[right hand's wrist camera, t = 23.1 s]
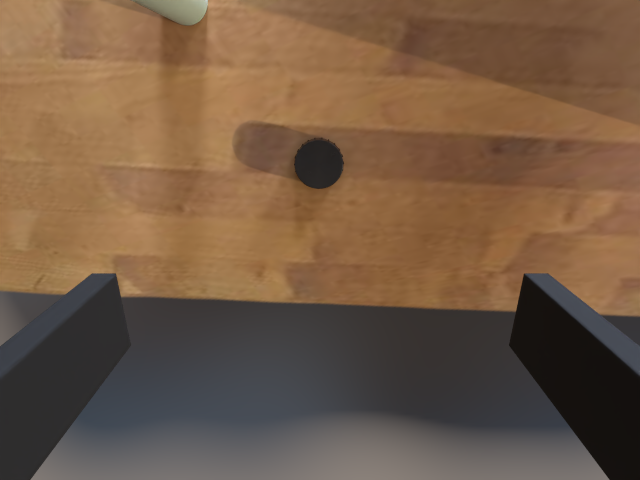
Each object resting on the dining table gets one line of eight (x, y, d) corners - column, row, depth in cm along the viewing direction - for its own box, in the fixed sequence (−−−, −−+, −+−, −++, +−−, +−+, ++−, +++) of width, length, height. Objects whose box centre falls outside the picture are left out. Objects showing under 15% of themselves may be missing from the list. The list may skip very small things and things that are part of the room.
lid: (327, 194, 41) (327, 198, 40) (286, 170, 41) (285, 173, 39) (352, 154, 40) (353, 156, 38) (310, 128, 39) (310, 129, 37)
